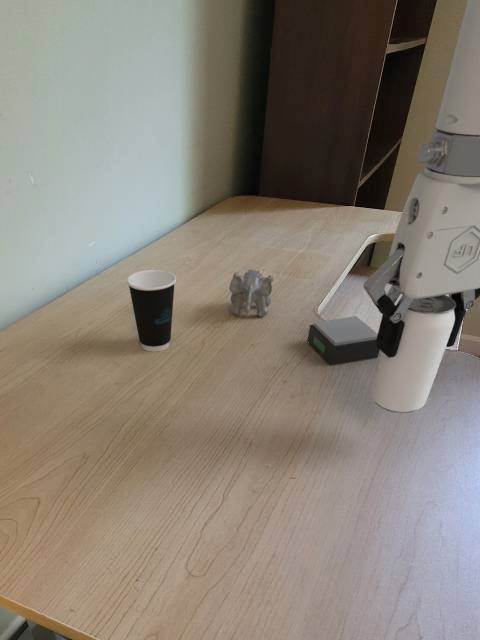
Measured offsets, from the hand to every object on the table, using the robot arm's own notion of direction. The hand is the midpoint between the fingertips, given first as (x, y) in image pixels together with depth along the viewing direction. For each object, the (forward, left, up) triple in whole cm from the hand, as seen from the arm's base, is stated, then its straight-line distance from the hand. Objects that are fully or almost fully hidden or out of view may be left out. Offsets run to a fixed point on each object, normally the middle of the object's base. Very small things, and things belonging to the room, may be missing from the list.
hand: (414, 345), depth 59 cm
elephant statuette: (+2, -43, -14) cm, 45 cm away
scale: (-7, -26, -14) cm, 30 cm away
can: (0, 0, -7) cm, 7 cm away
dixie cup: (+22, -37, -14) cm, 45 cm away
